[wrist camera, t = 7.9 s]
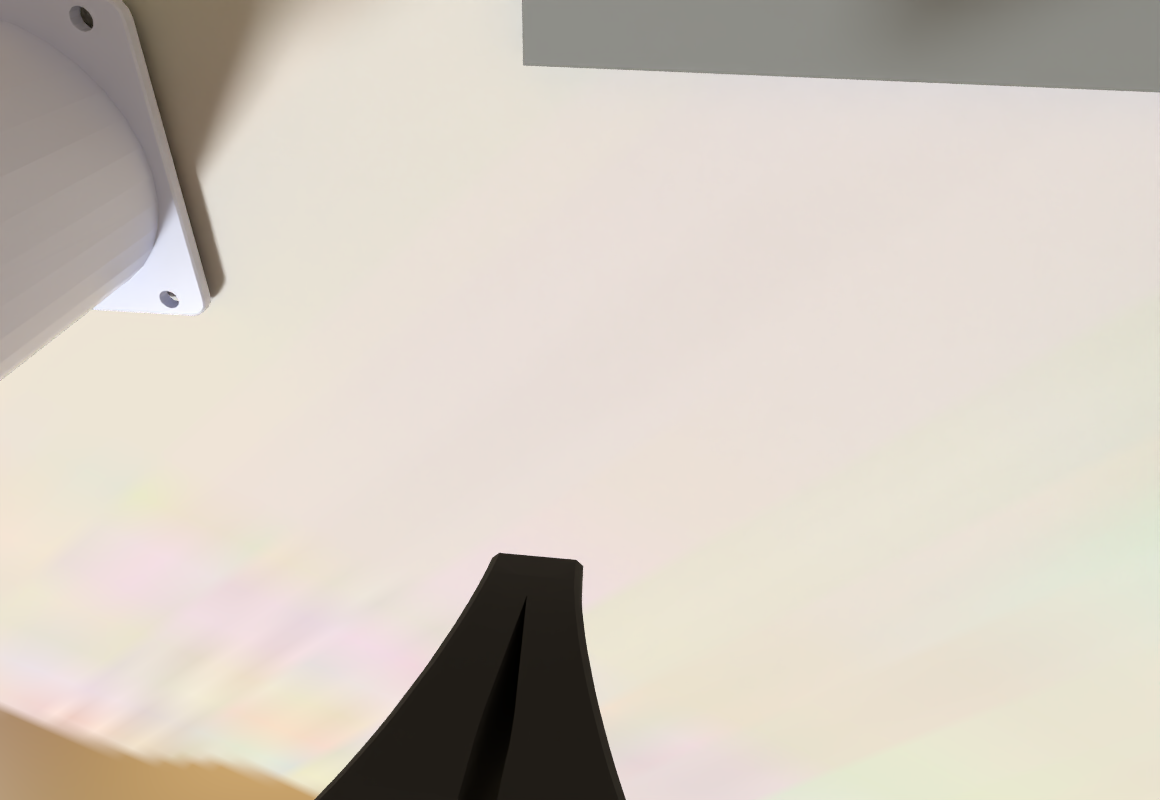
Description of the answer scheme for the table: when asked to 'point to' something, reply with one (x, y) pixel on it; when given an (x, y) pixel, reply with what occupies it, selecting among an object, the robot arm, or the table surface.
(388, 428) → the table surface
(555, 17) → the mat
